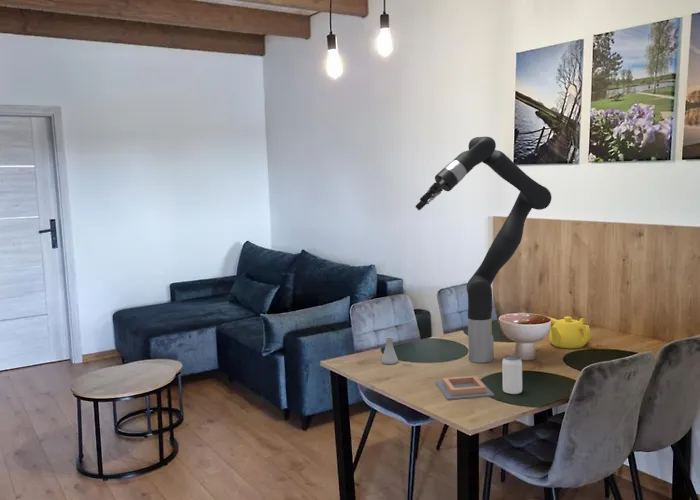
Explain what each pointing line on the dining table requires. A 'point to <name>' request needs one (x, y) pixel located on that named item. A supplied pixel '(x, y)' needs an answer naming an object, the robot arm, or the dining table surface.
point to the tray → (463, 388)
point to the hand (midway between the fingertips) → (419, 205)
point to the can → (512, 374)
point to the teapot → (569, 333)
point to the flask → (389, 353)
